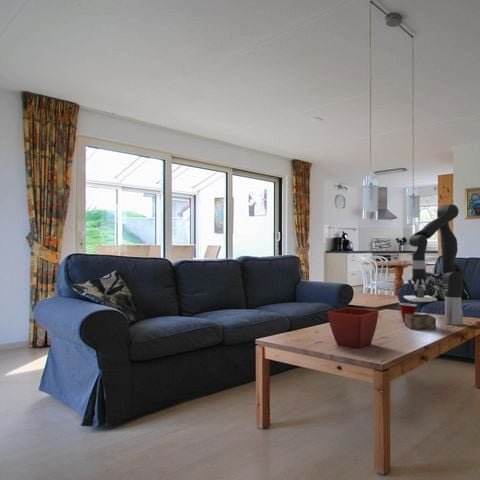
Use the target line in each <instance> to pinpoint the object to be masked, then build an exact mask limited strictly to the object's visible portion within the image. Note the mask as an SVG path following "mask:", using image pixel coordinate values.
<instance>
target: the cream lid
mask: <svg viewBox="0 0 480 480" xmlns="http://www.w3.org/2000/svg"><path fill="white" fill-rule="evenodd" d="M403 298H404V299H405V300H407V301H410V302H414V303H417V302H419V303H424V302H425V303H427V302H429V303H430V302H433V301H434V302H436V301H438V298H436V297H434V296H431V295H425V296H424V289H422V288H417V297H416V296H415V295H403Z"/></svg>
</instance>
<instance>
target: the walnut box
mask: <svg viewBox="0 0 480 480" xmlns="http://www.w3.org/2000/svg"><path fill="white" fill-rule="evenodd" d="M404 326H405V327H407V328H408V329H410V330H414V331H418V330H419V331H436V330H437V318H436V317H434V316H433V315H430V314H429V313H427V314H425V313H414V314H405V322H404Z"/></svg>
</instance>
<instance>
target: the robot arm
mask: <svg viewBox="0 0 480 480" xmlns="http://www.w3.org/2000/svg"><path fill="white" fill-rule="evenodd" d="M436 214H437V216H436V218H435V219H433V220H431V221H430V222H428V223H427V224H426V225H425V226H423V228H422V229H420V230H419V231H417V232H415V233H413V234H412V235H411V236H410V237H409V240H408V243H409V246H411V247H414V248H416V250H414V251H412V253H411V256H412V258H411V260H412V261H411V270H412V271H411V273H412V277H411V279H407V283H408V285H409V288H410V290H413V296H416V297H417V289H418V287H419V285H420V286H421V289H424V296H426V290H429V289H430V286H431V282H432V279H428V278H427V274H426V273H427V270H426V269H427V268H426V267H427V266H426V265H427V264H426V256H425V254H426V251H427V247H428V239H431V237H433V235H435V234H436V233H437V232H438V231H439V233H440V243H441V244H440V246H441V247H440V248H441V259H442V260H441V261H442V272H441V273H442V275H441V277H442V281H443V283H444V284H445V285H447V290H446V291H444V315H445V317H444V318H445V319H444V323H445V325H449V324H450V326H464V312H463V311H464V310H463V308H462V294H463V289H464V286H463V285H464V277H463V274H461V272H458V271H456V269H455V261H456V258H457V255H458V250H459V249H458V240H457V237H456V236H455V234H454V232H453V231H452V229H451V227H450V223H449V222H451V221H454V219H455V218H457V217H458V215H459V208H458V206H457V205H456V204H444V205H440V206H439V207H438V208H437V211H436ZM425 283H426V285H425Z"/></svg>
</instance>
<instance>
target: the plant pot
mask: <svg viewBox="0 0 480 480" xmlns="http://www.w3.org/2000/svg"><path fill="white" fill-rule="evenodd" d="M327 317H328V322H329V325H330V329H331V332H332V336H333V338H334V341H335V343H336V344H337V345H340V346H344V347H345V346H346V347H350V348H357V349H359V348H363V347H366V346H368V345H371V344H372V341H373V340H374V339H373V338H374V335H375V333H376V328H377V326H378V325H377V324H378V319H379V310H375V309H365V308H355V307H343V308H338V309H333V310H329V311H327Z"/></svg>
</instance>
